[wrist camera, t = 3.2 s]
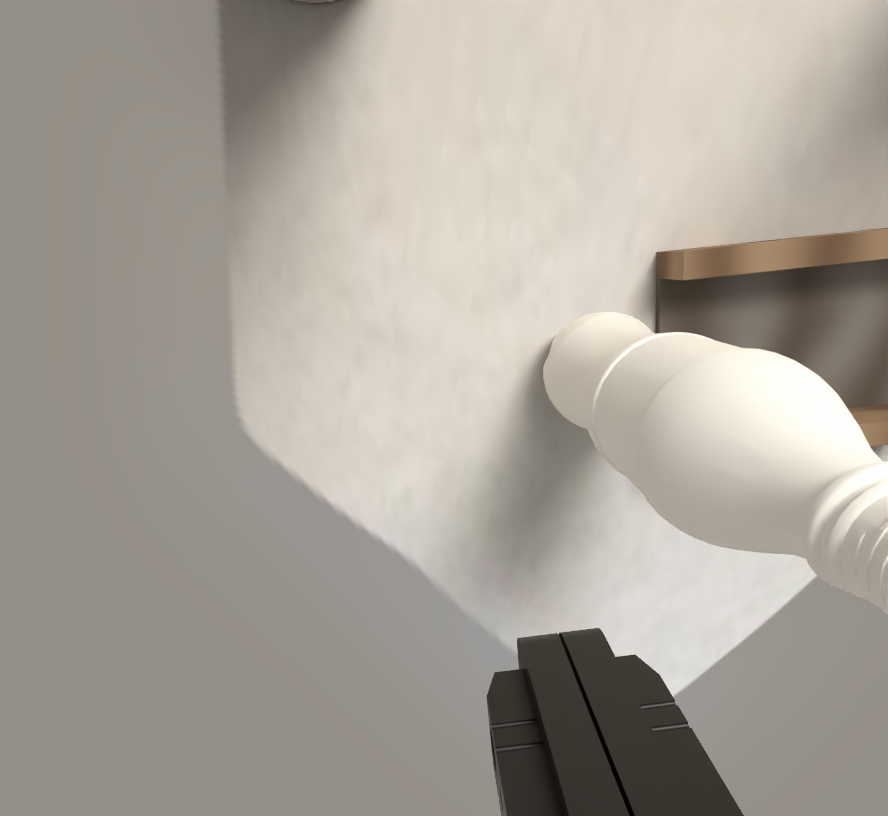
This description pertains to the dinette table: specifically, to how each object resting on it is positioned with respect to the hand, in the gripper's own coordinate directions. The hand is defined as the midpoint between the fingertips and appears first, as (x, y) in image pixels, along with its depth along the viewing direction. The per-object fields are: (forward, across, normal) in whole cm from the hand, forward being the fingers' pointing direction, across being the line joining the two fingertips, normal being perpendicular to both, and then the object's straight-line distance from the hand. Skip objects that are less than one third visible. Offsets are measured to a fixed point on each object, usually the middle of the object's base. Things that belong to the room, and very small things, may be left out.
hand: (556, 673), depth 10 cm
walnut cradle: (+26, -22, 0) cm, 34 cm away
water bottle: (+26, -9, 0) cm, 28 cm away
